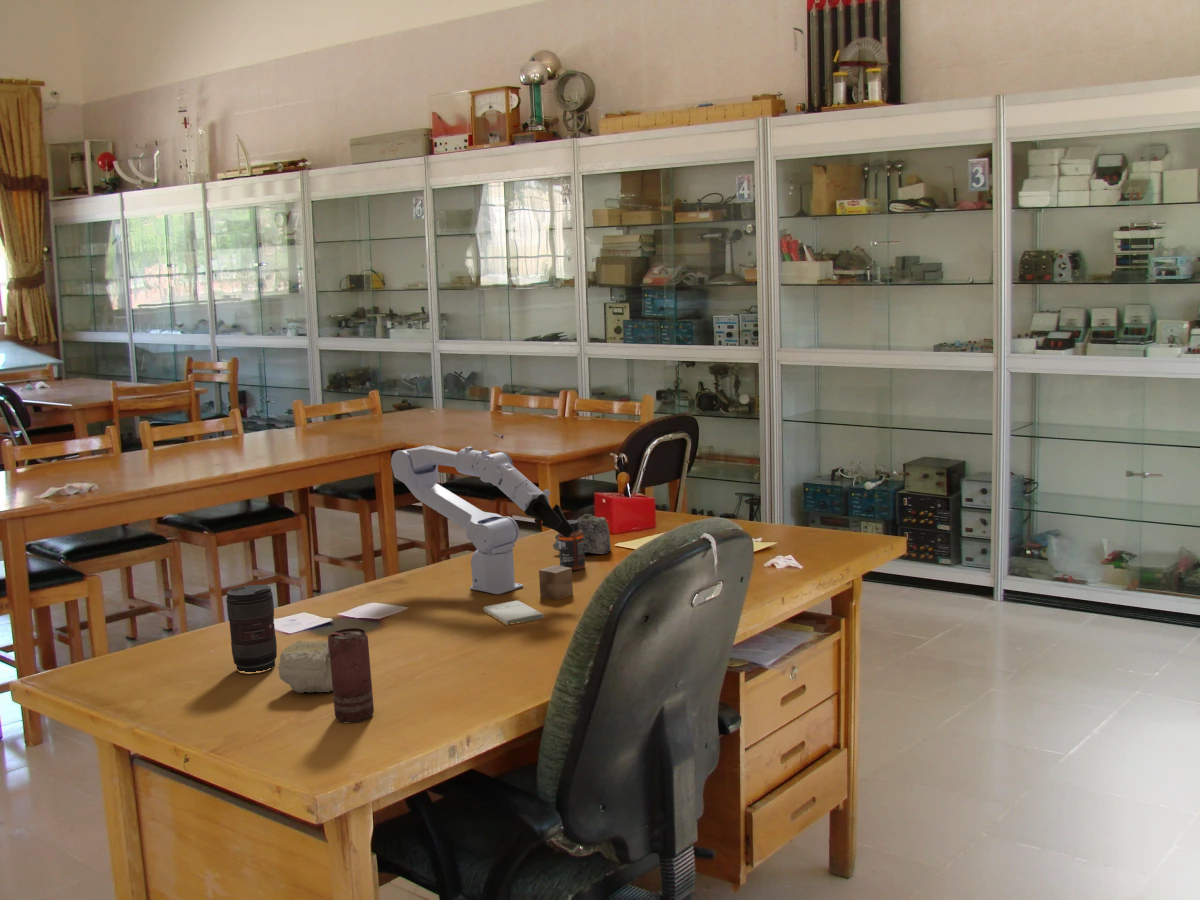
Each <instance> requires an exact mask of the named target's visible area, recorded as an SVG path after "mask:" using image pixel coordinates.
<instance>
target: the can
mask: <svg viewBox="0 0 1200 900" xmlns="http://www.w3.org/2000/svg"><path fill="white" fill-rule="evenodd" d="M327 641H328V648H329V653H330V664H331V675H332V687H333V692H332V694H333V695H332V696H333V707H334V708H333V709H334V716H335V718H336V719H337V721H338V720H339V722H340V721H342V722H341V723H343V722H347V723H346V724H352V723H351V722H357V723H360V722H359V721H362V722H364V721H363V720H365V721H367V720H369V719H370V718H371V717H372V716H373V715H374V712H375V710H374V709H375V708H374V707H375V705H374V695H373V694H374V693H373V683H372V672H371V671H372V670H371V660H370V659H371V658H370V657H371V656H370V647H369V636H368V635H367V633H366V630H365V629H362V628H357V627H353V628H352V627H351V628H343V629H339V630H335V631H333V632H331V633H329V634H328V637H327ZM368 718H369V719H368ZM366 719H367V720H366ZM348 722H350V723H348Z"/></svg>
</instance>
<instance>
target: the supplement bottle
mask: <svg viewBox="0 0 1200 900" xmlns="http://www.w3.org/2000/svg"><path fill="white" fill-rule="evenodd" d="M566 520H567V519H566ZM567 521H568V523H569V524H570V525H571V526H572V528H573V530H574V532H573V533H572V534H571V535H570V536H569V538H567V537H565V536H563V535H562V534H560V533H559V532H557V534H558V541H559V551H558V554H559V566H563V567H569V568H572V572H574V570H576V571H580V570H582V569H584V568H585V566H586V560H585V559H586V558H585V557H586V556H585V554H584V539H583V532H582V530H580V529H579V528H578V526H579V525H578V521H577V519H569V520H567Z"/></svg>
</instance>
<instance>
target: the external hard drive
mask: <svg viewBox="0 0 1200 900" xmlns="http://www.w3.org/2000/svg"><path fill="white" fill-rule="evenodd" d="M484 611H485V613H486V612H487V613H486V614H488V613H489V614H491V615H492V616H494V617H496V618H498V619H499V620H501V621H502V622H504V623H506V624H511V623H517V622H522V623H524V622H523V621H527V622H532V621H537V620H541V619H544V618H545V615H544V613H542V612H540V611H538V610H537V609H535V608H533V607H531V606H529V605H528V604H525V603H523V602H522V601H520V600H511V601H507V602H502V603H497V604H496V603H495V604H490V605H486V606H483V612H484ZM489 614H488V615H489ZM491 615H490V616H491ZM492 616H491V617H492ZM494 617H493V618H494ZM496 618H495V619H496ZM499 620H498V621H499ZM531 620H532V621H531ZM502 622H501V623H502ZM504 623H503V624H504ZM517 624H518V623H517Z"/></svg>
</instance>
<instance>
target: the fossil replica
mask: <svg viewBox="0 0 1200 900" xmlns="http://www.w3.org/2000/svg"><path fill="white" fill-rule="evenodd" d="M277 667H278V668H277V669H278V675H279V678H280V680H281V681H283V682H284V683H285V684H287V685H289V686H290V688H291V689H292V690H293V691H295V692H297V693H300V694H302V693H304V692H310V693H313V692H314V693H318V692H319V693H322V692H325V693H326V692H328V691H329V692H328V693H331V692H330V691H333V687H332V675H331V664H330V653H329V648H328V640H327V641H326V640H314V641H313V640H312V641H302V640H297V641H296V642H294V643H291V644H290V645H289V646H287V647H285V648H284V649H283V650H282V651H281V653H280V655H279V664H278V666H277Z"/></svg>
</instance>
